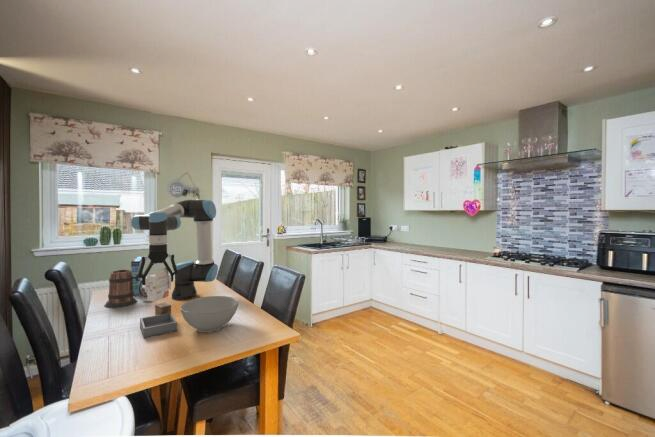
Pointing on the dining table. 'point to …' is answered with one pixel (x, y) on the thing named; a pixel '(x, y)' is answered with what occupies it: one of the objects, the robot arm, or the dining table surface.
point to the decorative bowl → (209, 312)
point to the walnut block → (162, 308)
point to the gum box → (134, 270)
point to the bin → (158, 325)
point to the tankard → (122, 289)
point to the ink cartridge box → (158, 285)
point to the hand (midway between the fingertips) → (158, 289)
